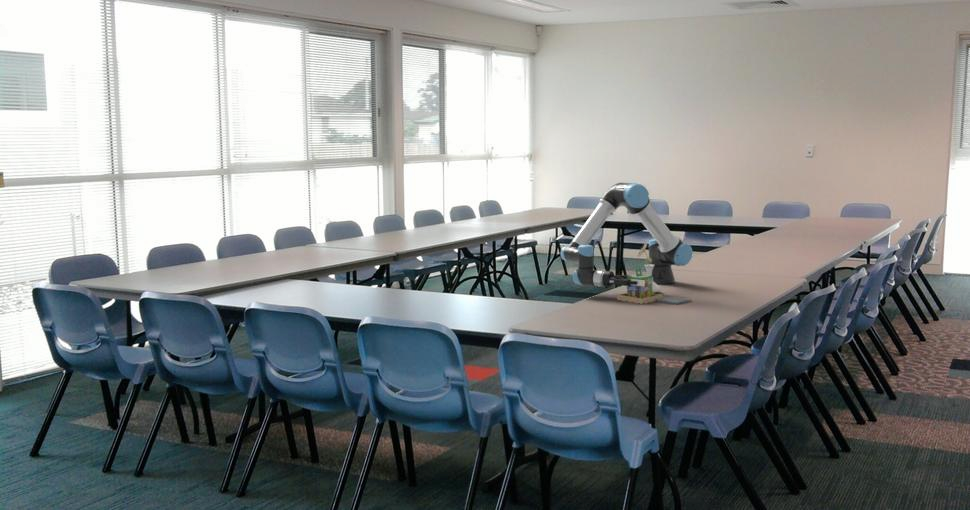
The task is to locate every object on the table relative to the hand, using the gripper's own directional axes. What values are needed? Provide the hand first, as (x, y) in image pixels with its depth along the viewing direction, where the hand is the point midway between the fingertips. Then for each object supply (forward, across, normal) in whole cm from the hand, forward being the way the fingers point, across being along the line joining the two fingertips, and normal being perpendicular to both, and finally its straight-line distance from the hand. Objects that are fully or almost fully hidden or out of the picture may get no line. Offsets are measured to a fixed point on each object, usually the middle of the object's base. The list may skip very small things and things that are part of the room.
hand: (648, 281), depth 429 cm
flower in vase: (-8, -20, -9) cm, 23 cm away
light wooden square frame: (-4, 0, -9) cm, 10 cm away
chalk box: (-4, 0, -9) cm, 10 cm away
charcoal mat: (+11, -3, -9) cm, 15 cm away
